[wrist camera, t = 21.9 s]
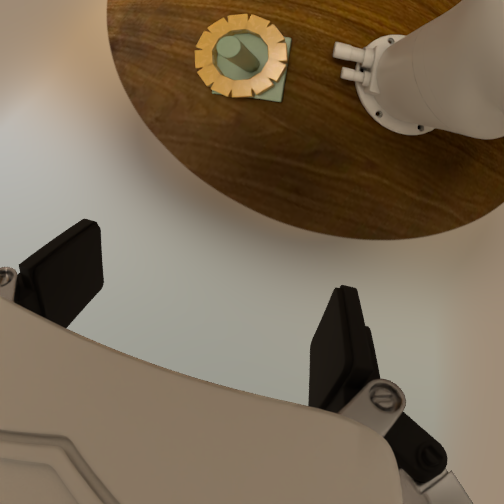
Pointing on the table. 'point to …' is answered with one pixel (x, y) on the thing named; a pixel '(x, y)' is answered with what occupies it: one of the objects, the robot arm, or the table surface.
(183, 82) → the table surface
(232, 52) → the peg stand
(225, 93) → the brass ring
